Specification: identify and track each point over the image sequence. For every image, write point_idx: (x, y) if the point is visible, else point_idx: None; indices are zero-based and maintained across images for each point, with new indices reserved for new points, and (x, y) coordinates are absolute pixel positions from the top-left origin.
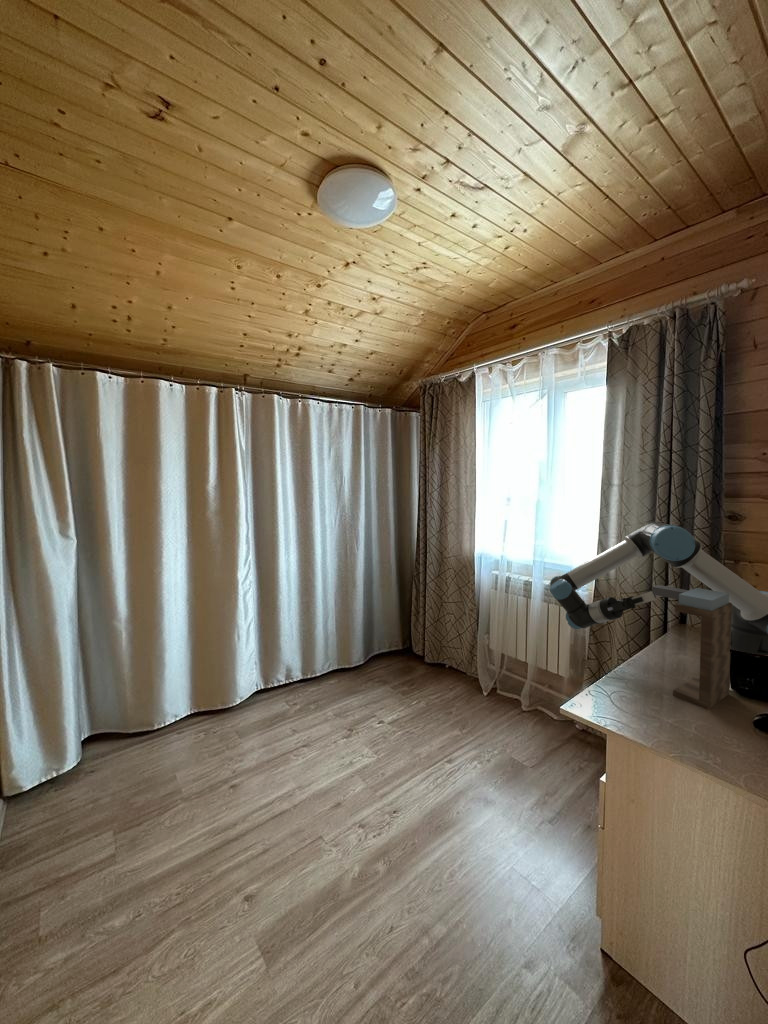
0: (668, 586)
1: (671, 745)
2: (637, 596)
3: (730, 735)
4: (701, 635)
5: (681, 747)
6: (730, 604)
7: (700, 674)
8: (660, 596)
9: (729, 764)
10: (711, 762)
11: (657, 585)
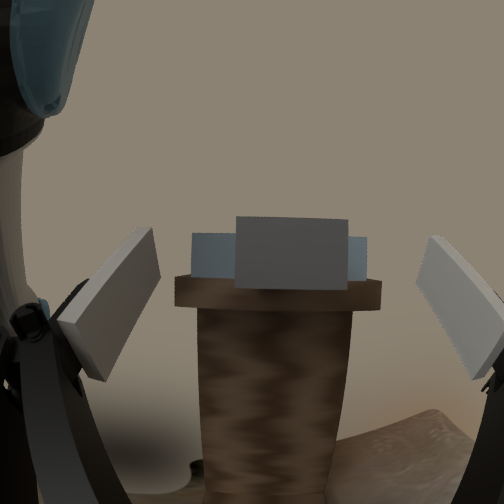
0: (142, 244)
1: (468, 448)
2: (489, 293)
3: (369, 451)
4: (347, 355)
5: (458, 445)
6: None
7: (333, 448)
8: (118, 349)
9: (427, 426)
10: (443, 429)
11: (269, 218)
